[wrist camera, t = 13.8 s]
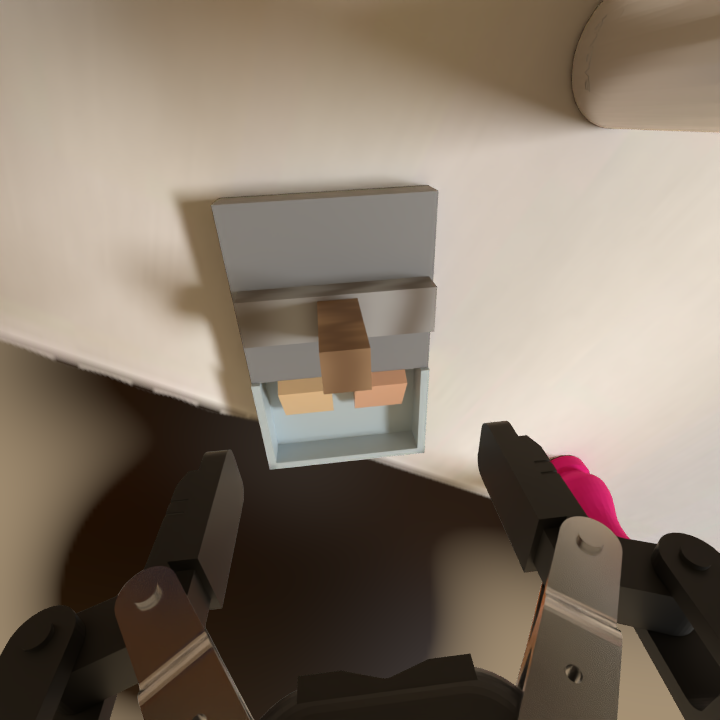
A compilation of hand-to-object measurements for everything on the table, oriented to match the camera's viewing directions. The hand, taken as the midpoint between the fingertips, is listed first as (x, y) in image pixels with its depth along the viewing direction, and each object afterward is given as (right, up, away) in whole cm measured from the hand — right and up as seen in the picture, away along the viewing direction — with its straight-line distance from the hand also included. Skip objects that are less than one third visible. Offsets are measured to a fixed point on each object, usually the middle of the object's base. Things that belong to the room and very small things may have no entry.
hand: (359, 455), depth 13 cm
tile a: (+2, +1, +28) cm, 28 cm away
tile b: (-5, 0, +27) cm, 28 cm away
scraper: (-2, +8, +21) cm, 23 cm away
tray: (-2, -1, +31) cm, 31 cm away
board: (-2, +10, +23) cm, 26 cm away
